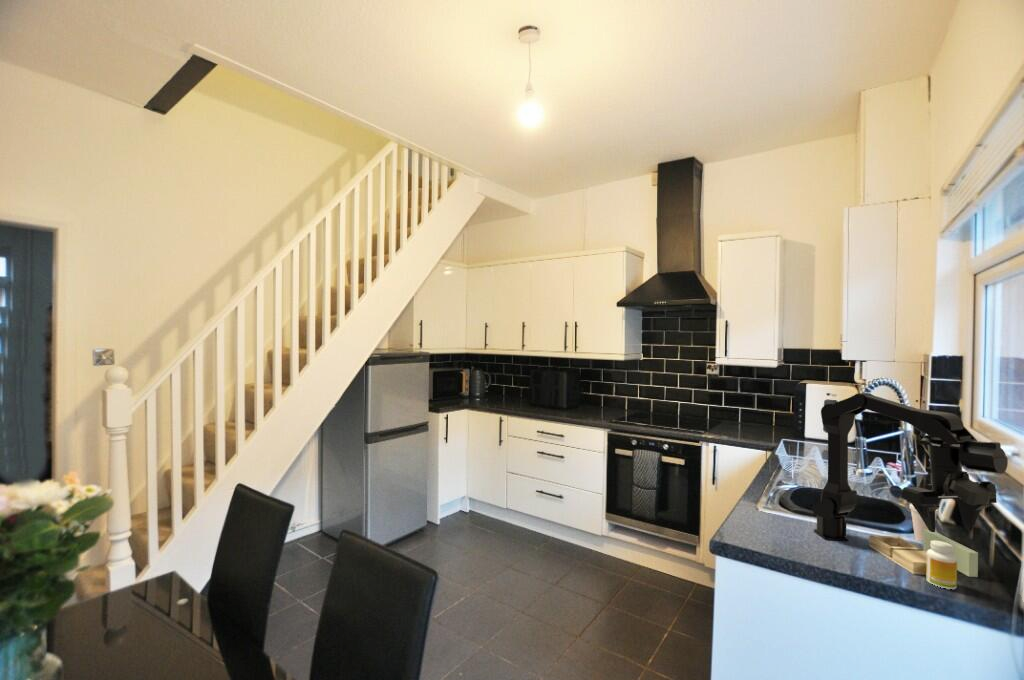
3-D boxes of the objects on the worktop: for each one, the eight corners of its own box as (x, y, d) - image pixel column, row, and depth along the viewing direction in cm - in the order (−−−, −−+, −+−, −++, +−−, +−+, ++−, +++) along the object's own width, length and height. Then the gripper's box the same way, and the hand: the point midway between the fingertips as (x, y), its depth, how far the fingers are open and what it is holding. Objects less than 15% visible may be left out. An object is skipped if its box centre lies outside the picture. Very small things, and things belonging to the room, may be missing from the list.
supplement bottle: (962, 591, 108) (963, 549, 108) (935, 588, 110) (936, 547, 110) (946, 579, 114) (946, 540, 114) (920, 577, 115) (921, 538, 115)
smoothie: (903, 535, 140) (903, 488, 140) (922, 535, 140) (923, 488, 140) (923, 544, 133) (924, 496, 133) (944, 544, 134) (944, 495, 134)
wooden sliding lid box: (913, 574, 116) (913, 562, 116) (869, 545, 132) (869, 535, 132) (947, 575, 116) (947, 563, 116) (899, 547, 132) (899, 536, 132)
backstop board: (968, 576, 115) (969, 552, 115) (923, 551, 129) (923, 529, 129) (977, 577, 115) (977, 552, 115) (931, 551, 129) (931, 529, 129)
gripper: (940, 473, 105) (945, 545, 104) (1019, 471, 105) (1025, 542, 104) (897, 463, 116) (901, 528, 115) (969, 462, 117) (974, 525, 116)
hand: (950, 531), depth 112 cm, fingers open, 9 cm apart
